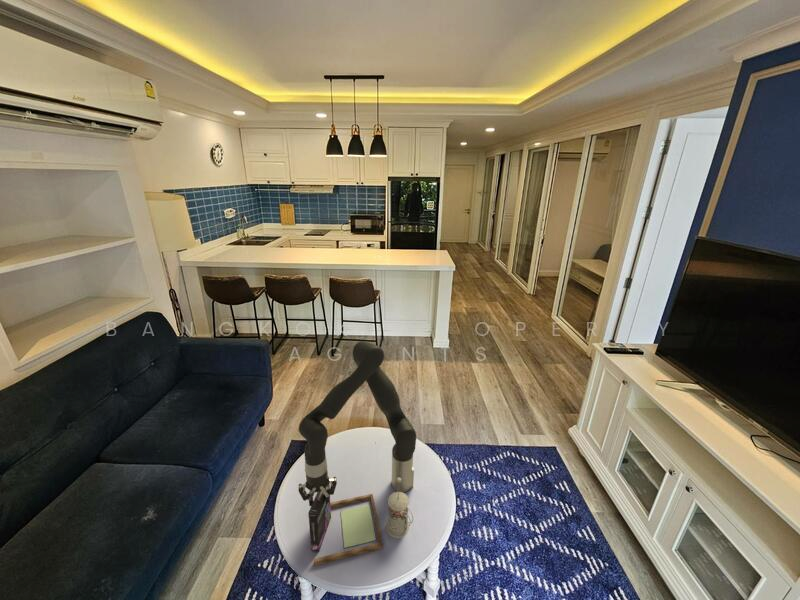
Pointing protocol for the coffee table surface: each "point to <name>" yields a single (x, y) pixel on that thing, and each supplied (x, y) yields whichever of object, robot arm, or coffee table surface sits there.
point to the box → (319, 520)
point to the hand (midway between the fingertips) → (319, 503)
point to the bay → (355, 529)
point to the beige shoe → (398, 514)
